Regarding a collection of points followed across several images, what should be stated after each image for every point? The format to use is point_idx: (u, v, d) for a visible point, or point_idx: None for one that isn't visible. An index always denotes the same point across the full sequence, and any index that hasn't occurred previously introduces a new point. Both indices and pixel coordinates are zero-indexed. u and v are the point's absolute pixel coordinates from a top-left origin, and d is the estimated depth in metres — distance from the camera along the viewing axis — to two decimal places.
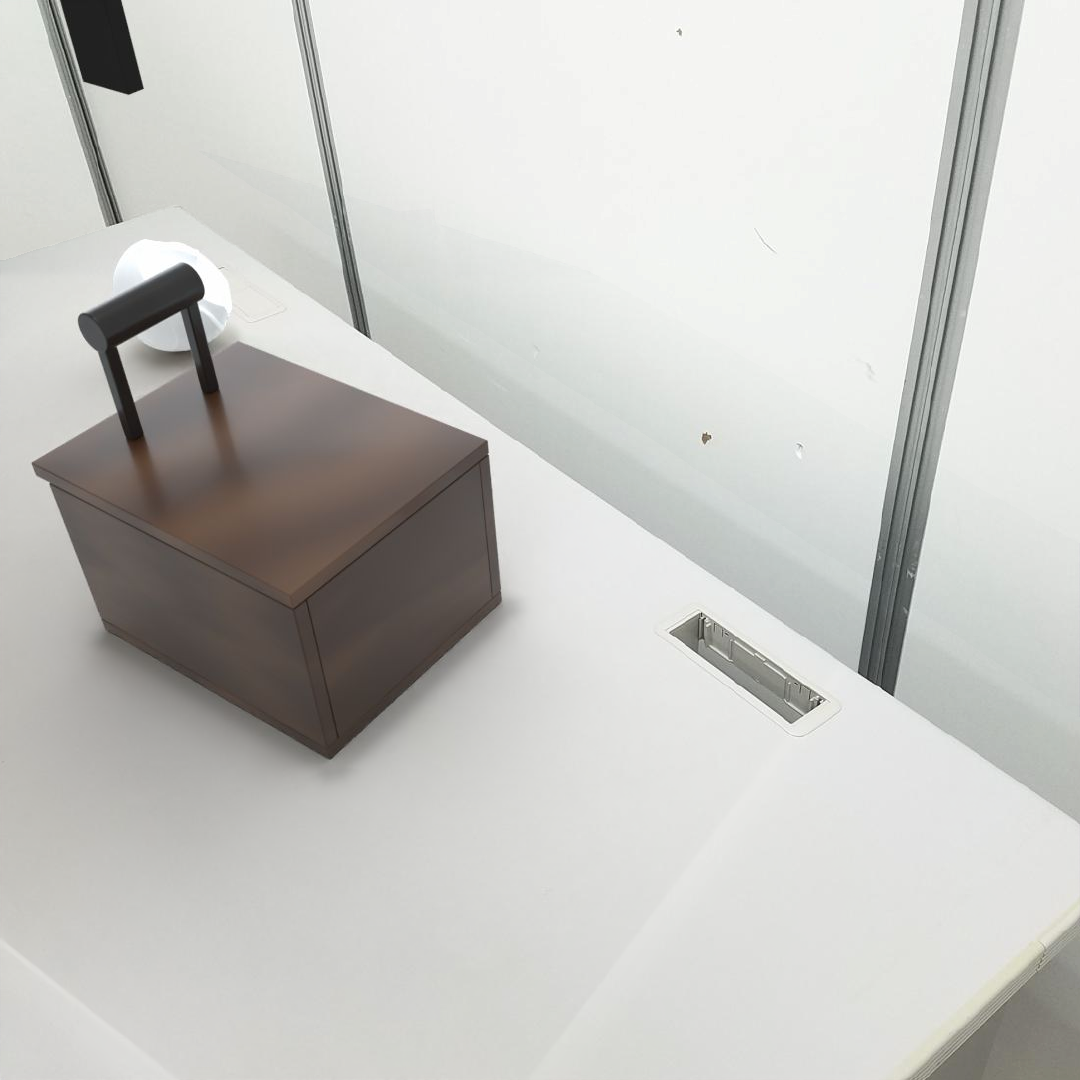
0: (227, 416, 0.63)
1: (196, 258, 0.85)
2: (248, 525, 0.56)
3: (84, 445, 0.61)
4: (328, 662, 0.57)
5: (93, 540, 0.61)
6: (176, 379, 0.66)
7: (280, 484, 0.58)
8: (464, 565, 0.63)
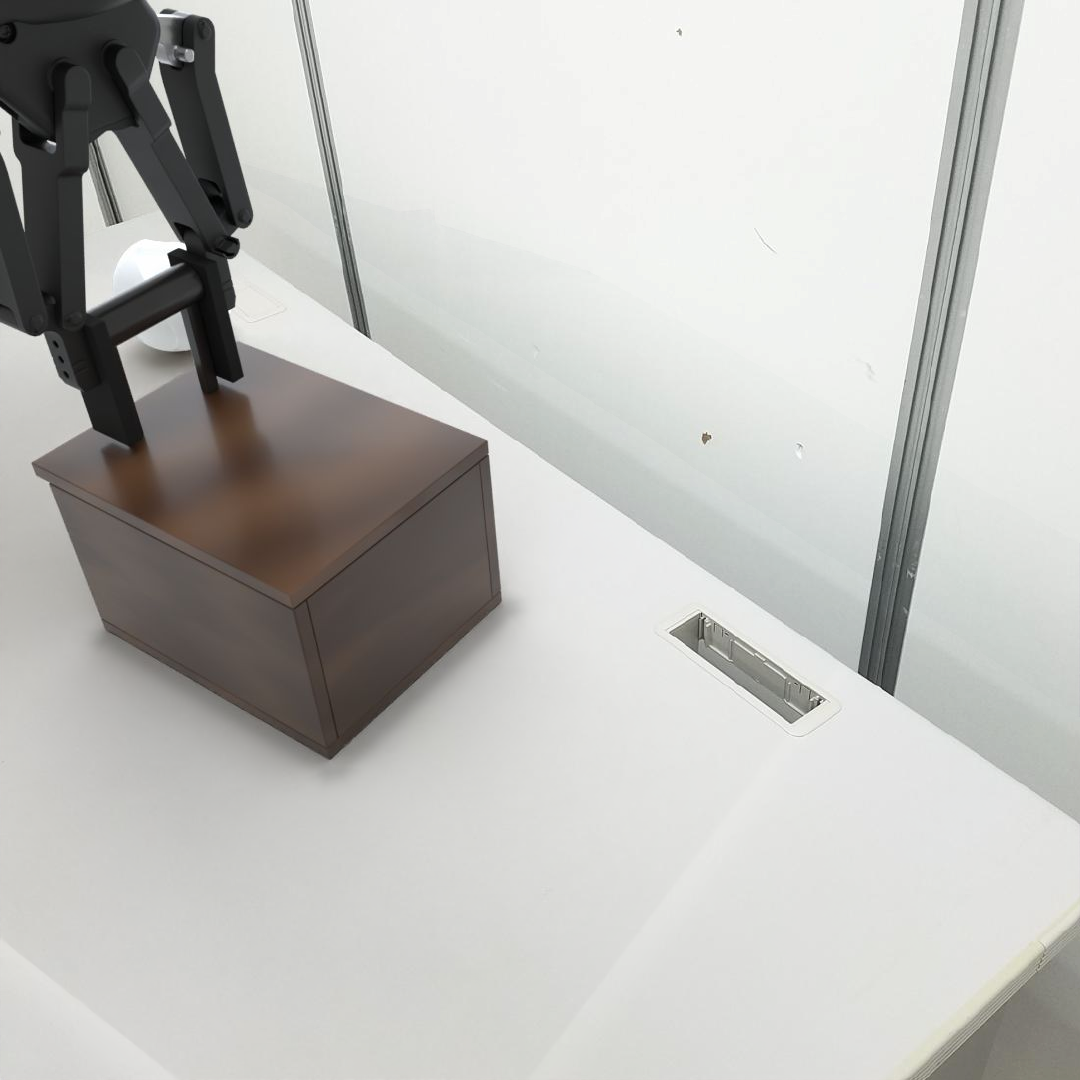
0: (227, 416, 0.63)
1: None
2: (248, 525, 0.56)
3: (84, 445, 0.61)
4: (328, 662, 0.57)
5: (93, 540, 0.61)
6: (176, 379, 0.66)
7: (280, 484, 0.58)
8: (464, 565, 0.63)
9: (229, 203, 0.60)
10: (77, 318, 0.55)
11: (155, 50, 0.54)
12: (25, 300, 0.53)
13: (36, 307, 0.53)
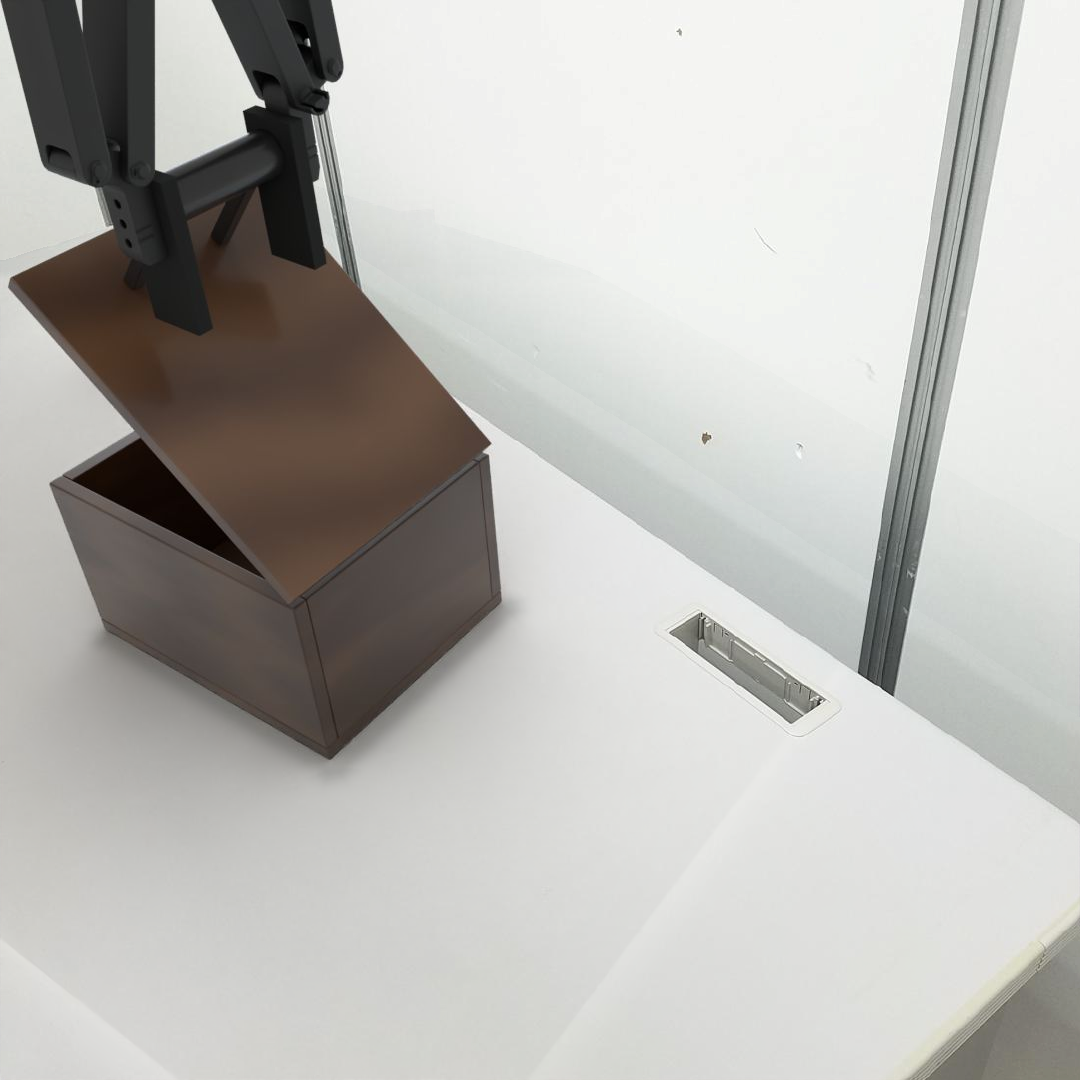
0: (238, 293, 0.56)
1: None
2: (256, 480, 0.54)
3: (74, 273, 0.53)
4: (328, 662, 0.57)
5: (93, 540, 0.61)
6: None
7: (291, 429, 0.55)
8: (464, 565, 0.63)
9: (318, 49, 0.51)
10: (145, 170, 0.46)
11: None
12: (85, 140, 0.44)
13: (98, 150, 0.44)
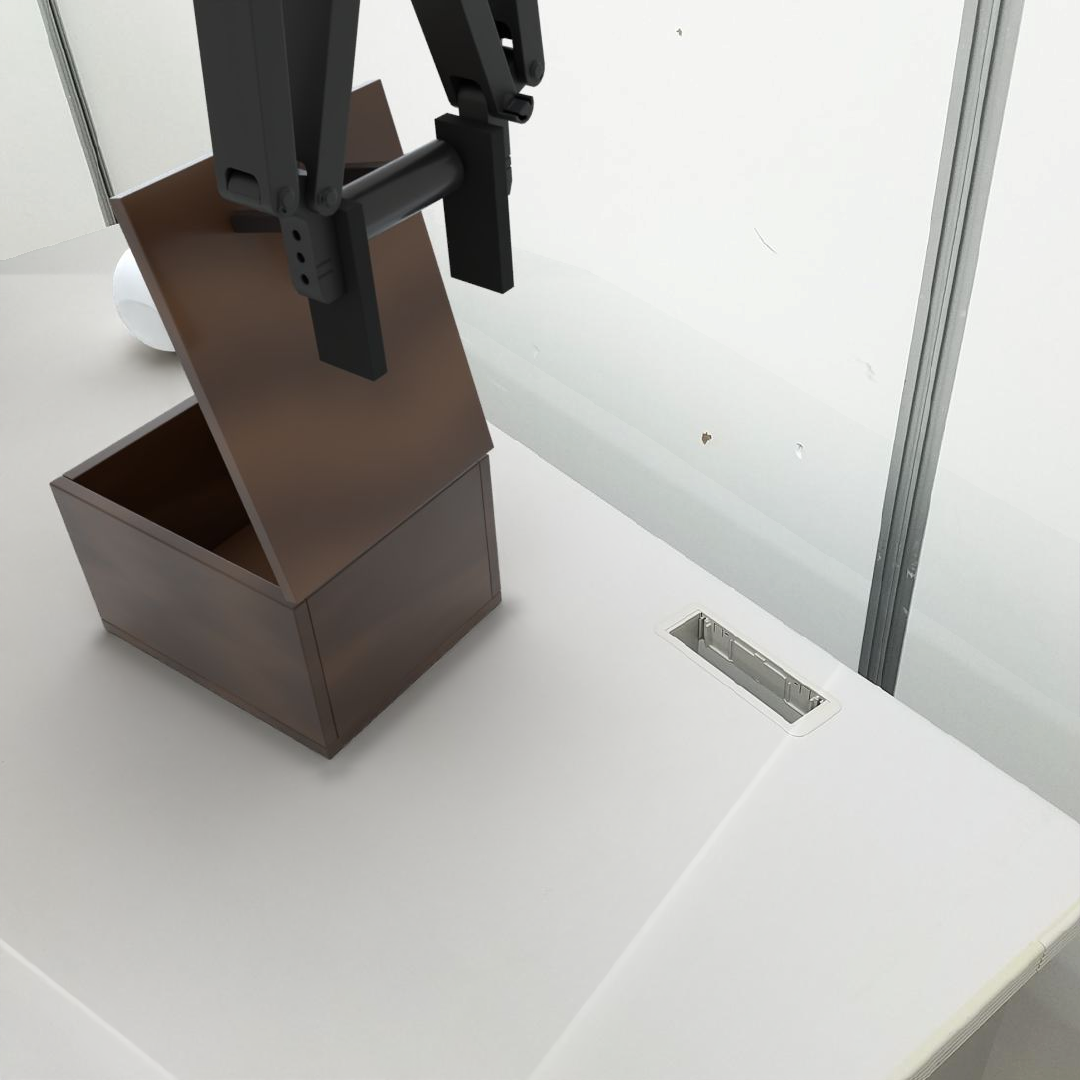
0: None
1: None
2: (296, 473, 0.51)
3: (184, 202, 0.45)
4: (328, 662, 0.57)
5: (93, 540, 0.61)
6: None
7: (338, 418, 0.53)
8: (464, 565, 0.63)
9: (521, 51, 0.46)
10: (332, 196, 0.40)
11: None
12: (277, 163, 0.38)
13: (288, 175, 0.38)
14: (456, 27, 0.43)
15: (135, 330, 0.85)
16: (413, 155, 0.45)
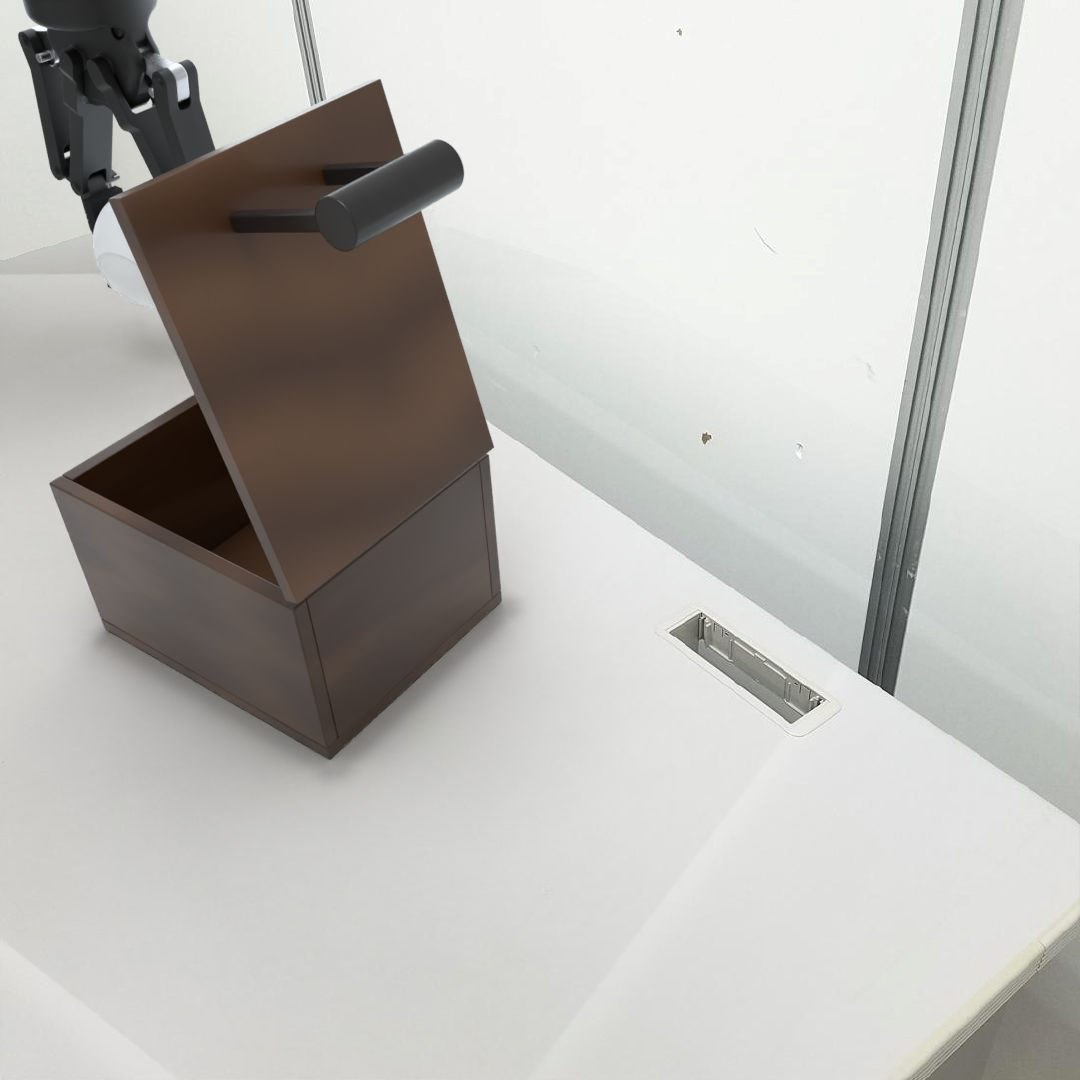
0: (329, 248, 0.51)
1: None
2: (296, 473, 0.51)
3: (184, 202, 0.45)
4: (328, 662, 0.57)
5: (93, 540, 0.61)
6: (304, 120, 0.49)
7: (338, 418, 0.53)
8: (464, 565, 0.63)
9: None
10: (74, 187, 0.83)
11: (132, 77, 0.74)
12: (51, 154, 0.83)
13: (56, 163, 0.83)
14: None
15: (115, 285, 0.83)
16: (413, 155, 0.45)
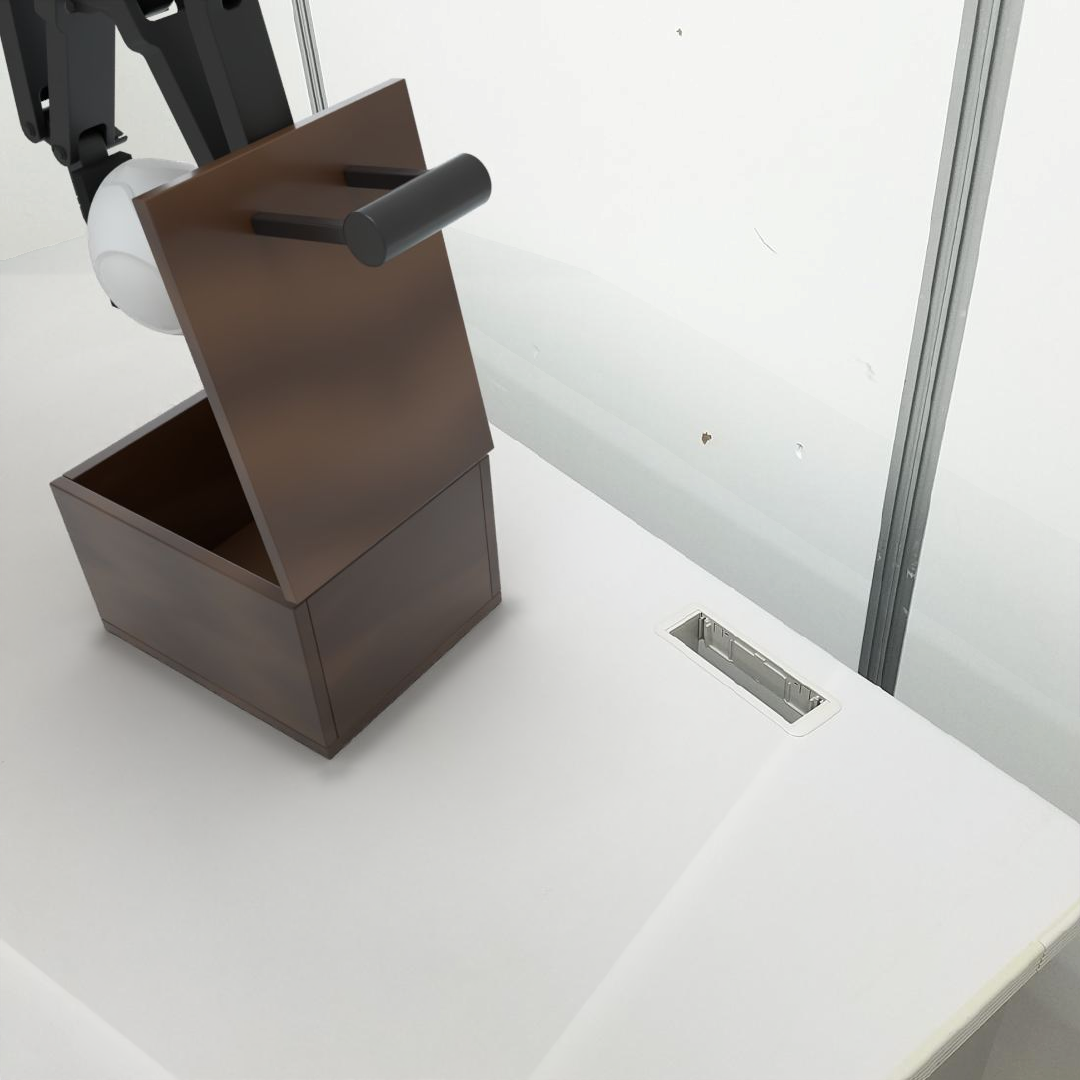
0: (346, 250, 0.50)
1: None
2: (303, 475, 0.51)
3: (207, 204, 0.45)
4: (328, 662, 0.57)
5: (93, 540, 0.61)
6: (329, 120, 0.48)
7: (346, 420, 0.52)
8: (464, 565, 0.63)
9: None
10: (58, 153, 0.54)
11: None
12: (20, 102, 0.54)
13: (29, 117, 0.54)
14: None
15: (123, 301, 0.53)
16: (443, 170, 0.45)
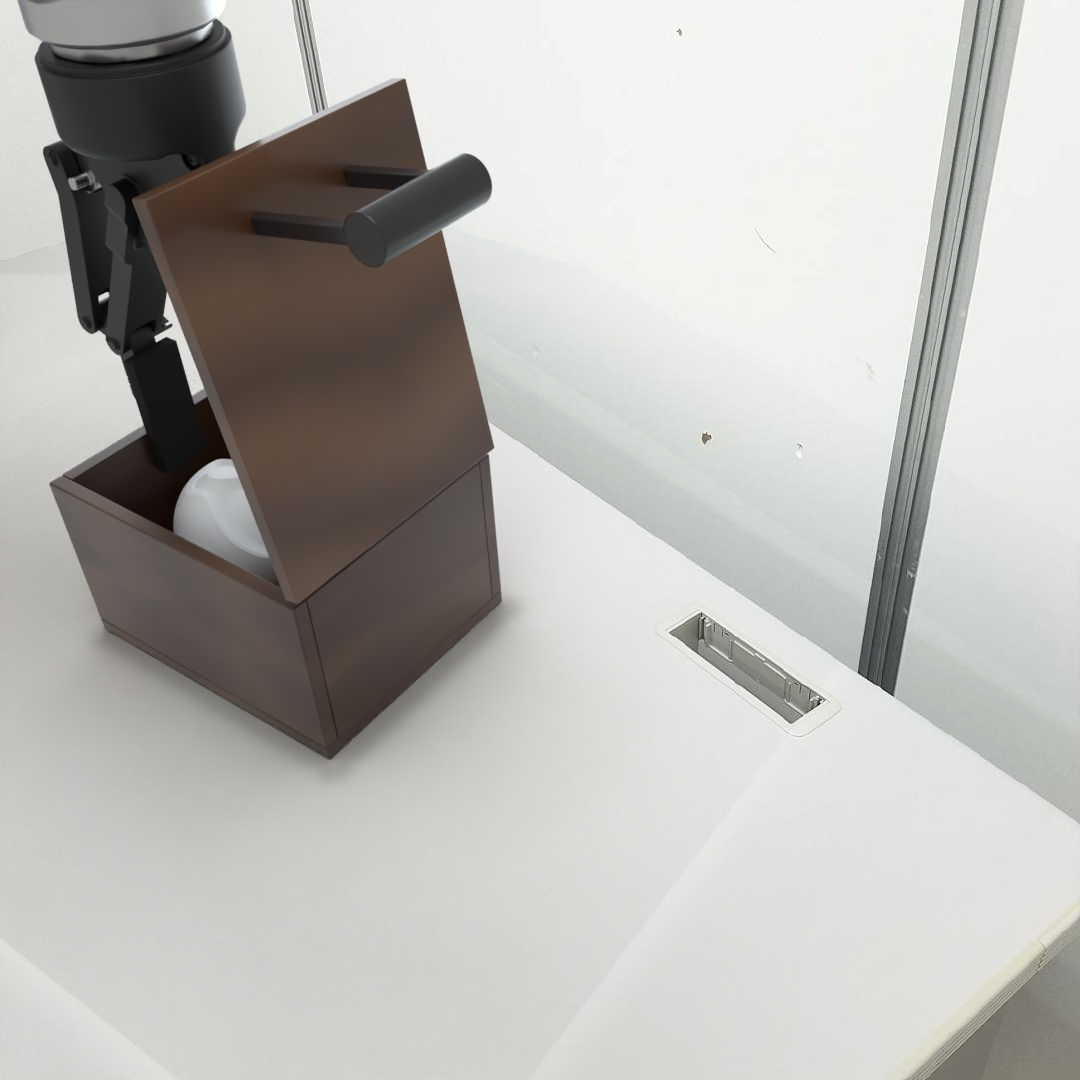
0: (347, 250, 0.50)
1: None
2: (303, 475, 0.51)
3: (207, 204, 0.45)
4: (328, 662, 0.57)
5: (93, 540, 0.61)
6: (329, 120, 0.48)
7: (346, 420, 0.52)
8: (464, 565, 0.63)
9: None
10: (112, 345, 0.60)
11: None
12: (80, 302, 0.60)
13: (87, 314, 0.60)
14: None
15: None
16: (443, 170, 0.45)
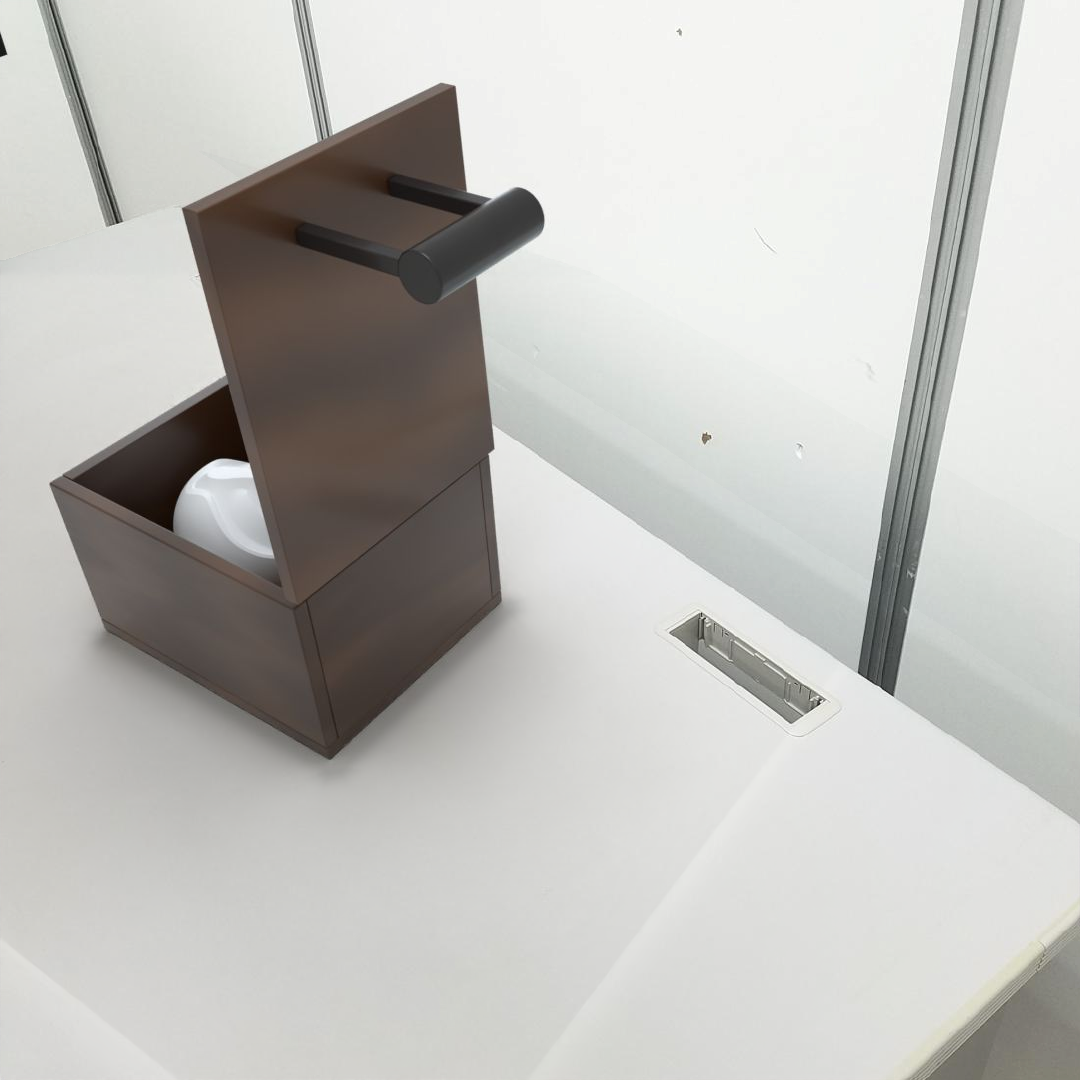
0: None
1: None
2: (316, 481, 0.51)
3: (256, 216, 0.43)
4: (328, 662, 0.57)
5: (93, 540, 0.61)
6: (379, 129, 0.47)
7: (362, 426, 0.52)
8: (464, 565, 0.63)
9: None
10: None
11: None
12: None
13: None
14: None
15: None
16: (500, 207, 0.44)
